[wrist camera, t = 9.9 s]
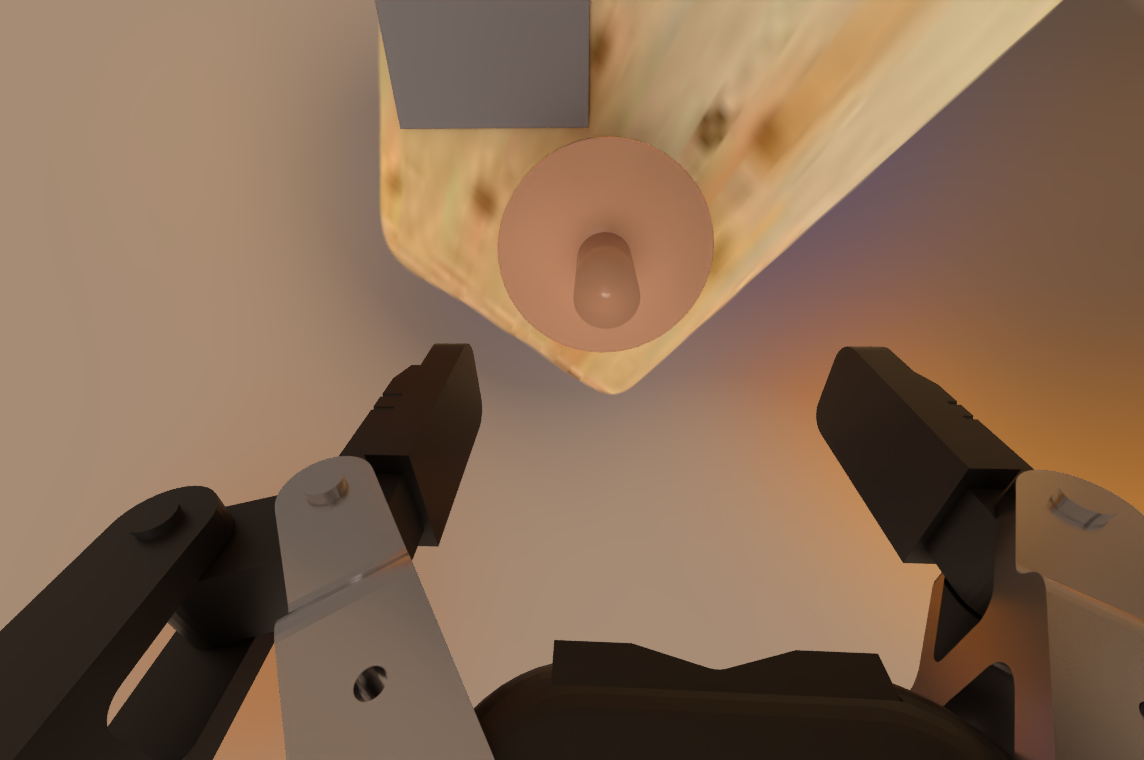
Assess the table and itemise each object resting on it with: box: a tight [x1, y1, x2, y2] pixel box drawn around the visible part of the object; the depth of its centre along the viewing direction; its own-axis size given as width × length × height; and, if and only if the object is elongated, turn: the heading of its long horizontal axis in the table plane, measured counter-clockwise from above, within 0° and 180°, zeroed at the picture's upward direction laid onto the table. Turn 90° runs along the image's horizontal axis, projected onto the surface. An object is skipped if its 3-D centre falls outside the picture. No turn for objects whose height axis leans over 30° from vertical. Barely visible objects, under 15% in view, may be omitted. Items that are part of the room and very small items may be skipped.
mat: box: [375, 0, 589, 129], centre depth 29 cm, size 14×14×1 cm
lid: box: [498, 136, 714, 352], centre depth 21 cm, size 11×11×6 cm
